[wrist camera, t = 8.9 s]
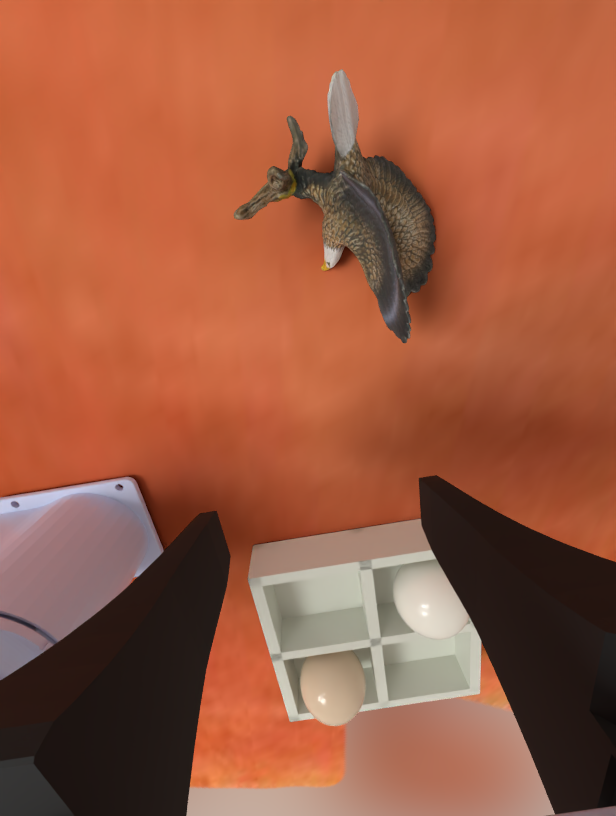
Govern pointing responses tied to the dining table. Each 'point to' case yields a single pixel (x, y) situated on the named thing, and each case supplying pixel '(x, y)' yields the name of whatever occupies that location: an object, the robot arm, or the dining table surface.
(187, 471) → the dining table surface
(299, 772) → the dining table surface
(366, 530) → the egg tray
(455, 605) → the cream egg
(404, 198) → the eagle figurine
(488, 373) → the dining table surface
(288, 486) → the dining table surface
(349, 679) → the brown egg
